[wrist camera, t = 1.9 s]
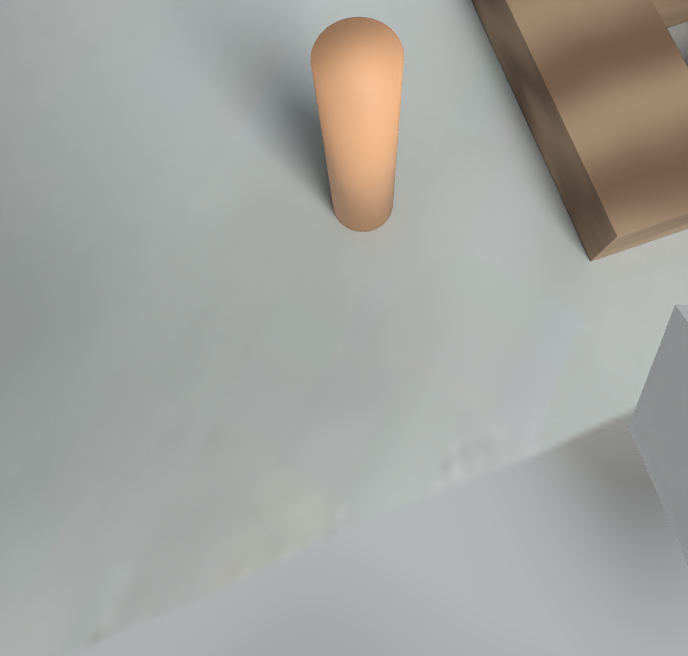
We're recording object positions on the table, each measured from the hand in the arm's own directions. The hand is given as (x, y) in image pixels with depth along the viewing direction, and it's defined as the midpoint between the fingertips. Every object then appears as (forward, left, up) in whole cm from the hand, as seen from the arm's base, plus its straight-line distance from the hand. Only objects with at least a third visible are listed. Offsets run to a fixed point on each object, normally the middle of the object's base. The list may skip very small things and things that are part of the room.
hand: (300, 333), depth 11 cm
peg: (-10, +5, -19) cm, 22 cm away
